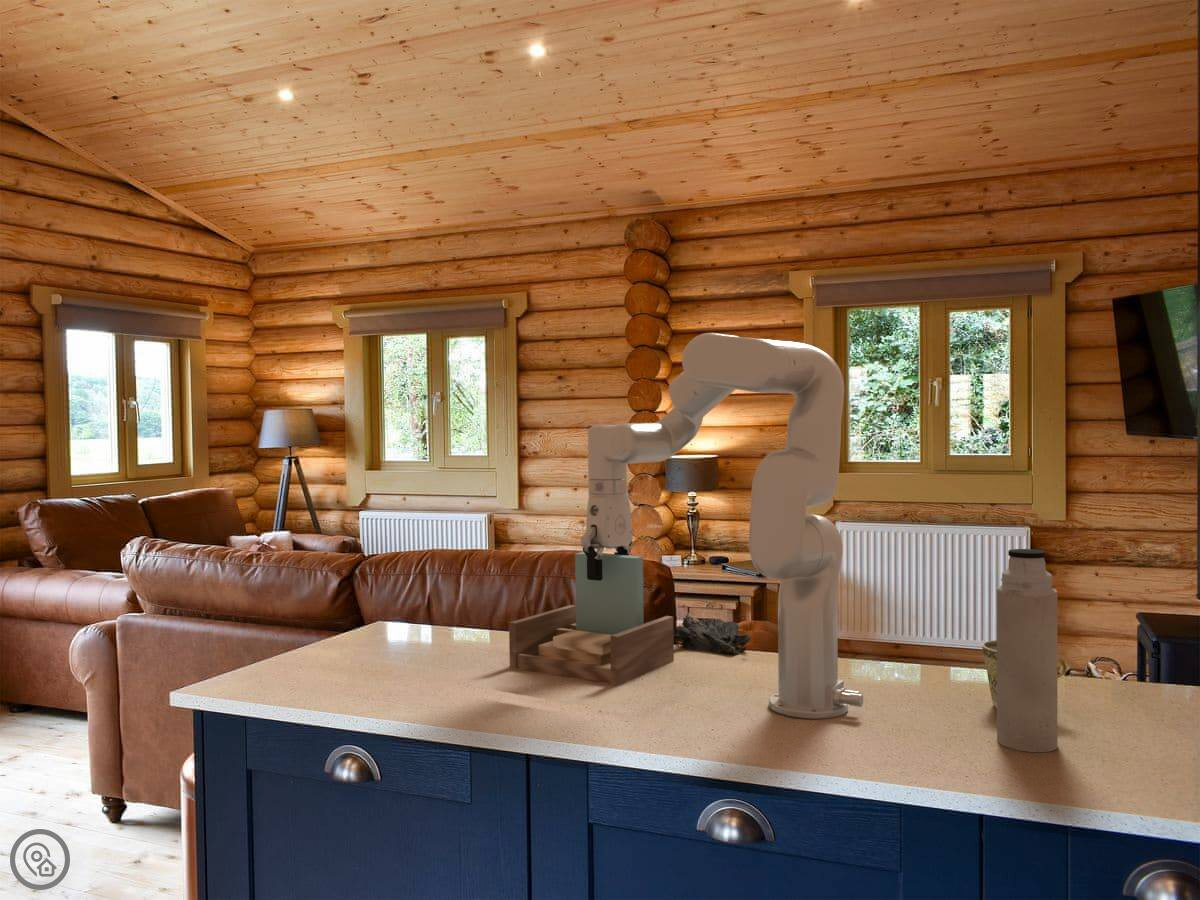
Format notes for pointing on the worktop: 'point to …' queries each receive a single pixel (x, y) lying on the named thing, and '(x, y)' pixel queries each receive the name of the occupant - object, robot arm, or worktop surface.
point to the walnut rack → (628, 648)
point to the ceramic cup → (991, 667)
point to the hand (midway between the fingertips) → (608, 576)
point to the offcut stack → (579, 648)
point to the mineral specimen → (711, 636)
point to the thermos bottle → (1027, 654)
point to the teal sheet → (609, 594)
